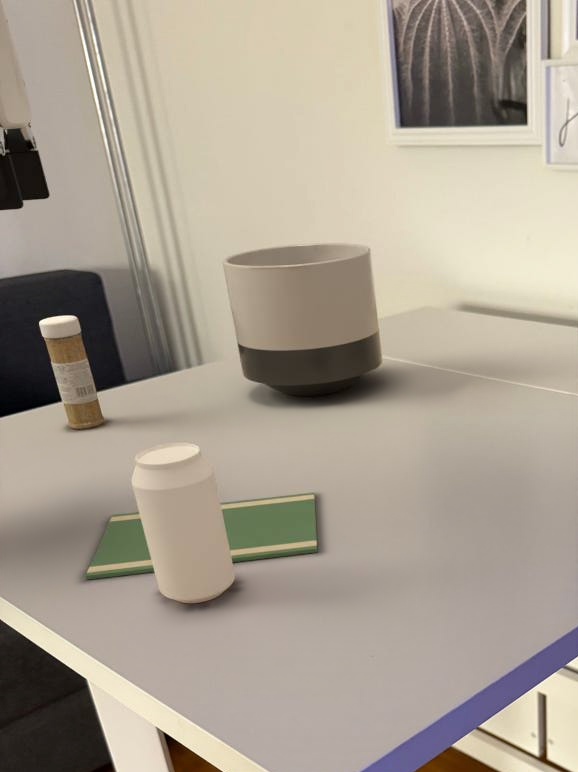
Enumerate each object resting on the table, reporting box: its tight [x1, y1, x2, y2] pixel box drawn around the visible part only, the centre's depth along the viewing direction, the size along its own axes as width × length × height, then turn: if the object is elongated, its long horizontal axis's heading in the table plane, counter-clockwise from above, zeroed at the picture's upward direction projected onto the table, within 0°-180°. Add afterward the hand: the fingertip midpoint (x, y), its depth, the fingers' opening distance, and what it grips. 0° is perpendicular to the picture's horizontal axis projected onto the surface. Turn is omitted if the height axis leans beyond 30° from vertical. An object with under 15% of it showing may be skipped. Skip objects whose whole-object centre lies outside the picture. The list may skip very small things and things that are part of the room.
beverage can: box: [131, 442, 236, 604], centre depth 75 cm, size 6×6×12 cm
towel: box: [85, 492, 319, 580], centre depth 88 cm, size 20×14×1 cm
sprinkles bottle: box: [38, 315, 105, 430], centre depth 118 cm, size 5×5×14 cm
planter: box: [222, 242, 383, 397], centre depth 127 cm, size 19×19×18 cm
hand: (18, 204), depth 82 cm, fingers open, 9 cm apart
